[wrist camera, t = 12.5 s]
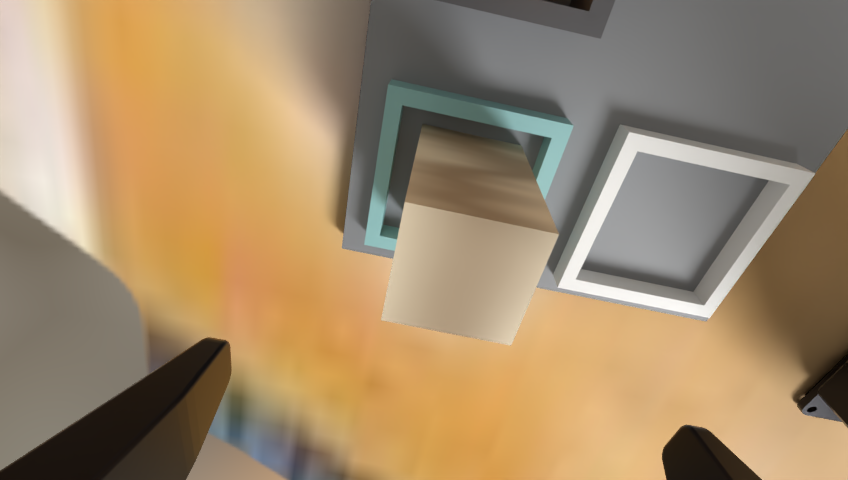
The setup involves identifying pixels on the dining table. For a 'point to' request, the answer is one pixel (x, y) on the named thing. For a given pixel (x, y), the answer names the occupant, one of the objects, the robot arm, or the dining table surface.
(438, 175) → the block
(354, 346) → the dining table surface
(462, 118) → the grey shape sorting board
